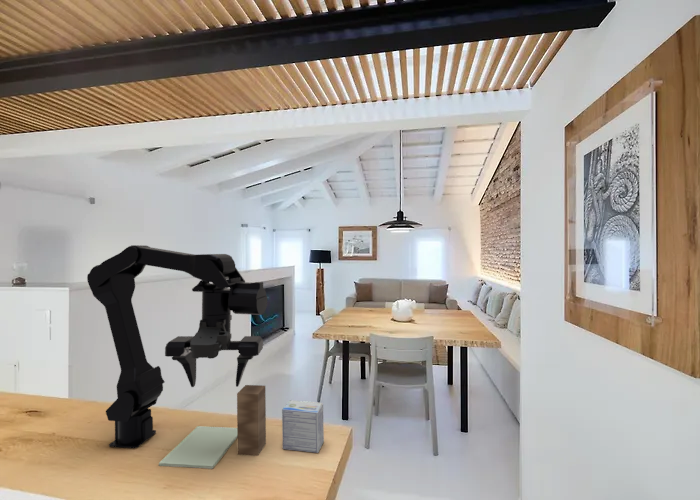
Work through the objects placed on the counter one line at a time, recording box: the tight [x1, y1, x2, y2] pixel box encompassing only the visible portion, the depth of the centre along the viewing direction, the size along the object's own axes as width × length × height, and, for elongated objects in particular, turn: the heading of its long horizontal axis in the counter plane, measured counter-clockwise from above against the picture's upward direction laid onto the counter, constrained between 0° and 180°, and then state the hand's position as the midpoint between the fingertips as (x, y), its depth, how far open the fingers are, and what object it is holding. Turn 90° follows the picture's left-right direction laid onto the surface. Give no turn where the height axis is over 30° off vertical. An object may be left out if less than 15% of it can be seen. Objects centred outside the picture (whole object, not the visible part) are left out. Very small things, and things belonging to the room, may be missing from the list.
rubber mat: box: [158, 425, 237, 470], centre depth 73 cm, size 11×14×1 cm
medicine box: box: [281, 399, 325, 454], centre depth 73 cm, size 8×4×9 cm, turn 78°
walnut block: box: [236, 384, 267, 457], centre depth 72 cm, size 4×4×12 cm
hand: (215, 386), depth 73 cm, fingers open, 9 cm apart
